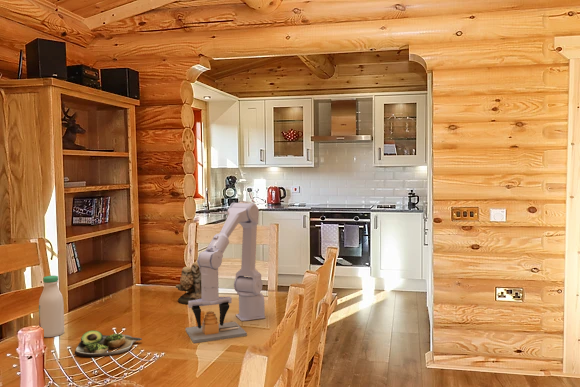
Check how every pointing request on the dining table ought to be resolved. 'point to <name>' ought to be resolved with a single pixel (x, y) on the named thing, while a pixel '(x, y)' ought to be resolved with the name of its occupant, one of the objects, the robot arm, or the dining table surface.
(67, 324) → the dining table surface
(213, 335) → the grey peg board
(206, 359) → the dining table surface
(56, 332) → the milk bottle
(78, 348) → the salad plate
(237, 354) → the dining table surface
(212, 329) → the wire nut
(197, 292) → the owl figurine
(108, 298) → the dining table surface
